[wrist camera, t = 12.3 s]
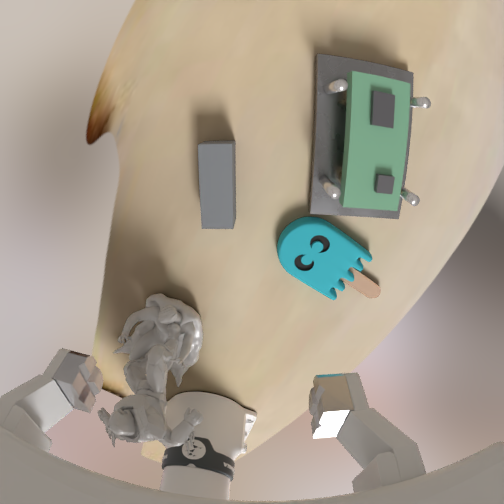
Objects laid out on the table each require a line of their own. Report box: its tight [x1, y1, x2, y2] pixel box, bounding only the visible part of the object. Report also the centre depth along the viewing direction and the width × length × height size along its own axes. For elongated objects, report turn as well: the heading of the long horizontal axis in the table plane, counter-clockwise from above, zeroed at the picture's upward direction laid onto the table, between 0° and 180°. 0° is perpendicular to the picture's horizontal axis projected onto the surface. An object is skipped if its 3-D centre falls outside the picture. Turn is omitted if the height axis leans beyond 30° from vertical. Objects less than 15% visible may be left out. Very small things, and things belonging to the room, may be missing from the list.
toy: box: [277, 217, 381, 300], centre depth 31 cm, size 7×2×15 cm
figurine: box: [98, 293, 204, 456], centre depth 30 cm, size 18×13×18 cm
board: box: [339, 71, 410, 211], centre depth 21 cm, size 12×6×2 cm, turn 0°
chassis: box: [309, 54, 431, 219], centre depth 23 cm, size 16×10×6 cm, turn 0°
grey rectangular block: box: [198, 141, 236, 229], centre depth 26 cm, size 8×3×3 cm, turn 179°
